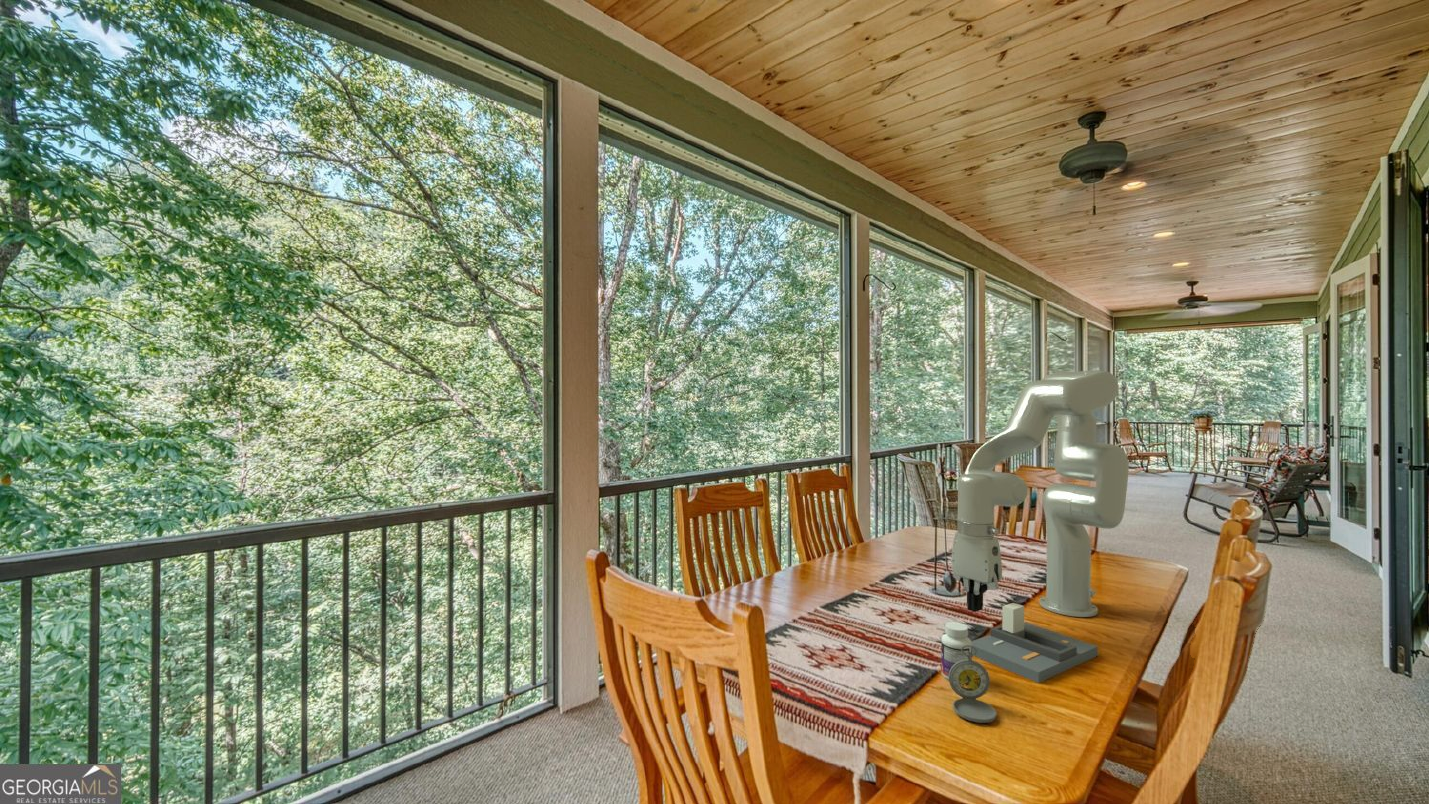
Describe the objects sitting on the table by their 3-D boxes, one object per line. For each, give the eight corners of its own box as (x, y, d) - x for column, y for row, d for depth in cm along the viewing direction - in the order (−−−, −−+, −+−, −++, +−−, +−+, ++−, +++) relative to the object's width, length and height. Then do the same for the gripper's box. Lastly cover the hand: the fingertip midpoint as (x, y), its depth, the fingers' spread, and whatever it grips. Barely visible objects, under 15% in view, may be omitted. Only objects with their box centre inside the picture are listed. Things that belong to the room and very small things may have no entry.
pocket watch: (975, 729, 92) (976, 666, 92) (936, 703, 100) (936, 646, 100) (1012, 718, 95) (1012, 658, 95) (971, 694, 103) (971, 638, 103)
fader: (1011, 632, 125) (1012, 602, 125) (1025, 637, 122) (1025, 606, 122) (1000, 636, 123) (1001, 605, 123) (1014, 641, 120) (1014, 610, 120)
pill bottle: (948, 667, 113) (948, 618, 113) (976, 676, 109) (976, 626, 109) (936, 676, 109) (936, 625, 109) (964, 686, 105) (965, 634, 105)
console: (1026, 630, 131) (1026, 615, 131) (1097, 655, 118) (1097, 639, 118) (966, 652, 120) (966, 635, 120) (1038, 683, 107) (1038, 664, 107)
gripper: (1017, 533, 126) (1016, 617, 126) (956, 521, 138) (956, 597, 138) (996, 537, 122) (995, 624, 122) (936, 524, 134) (936, 602, 135)
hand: (974, 609), depth 130 cm, fingers closed
